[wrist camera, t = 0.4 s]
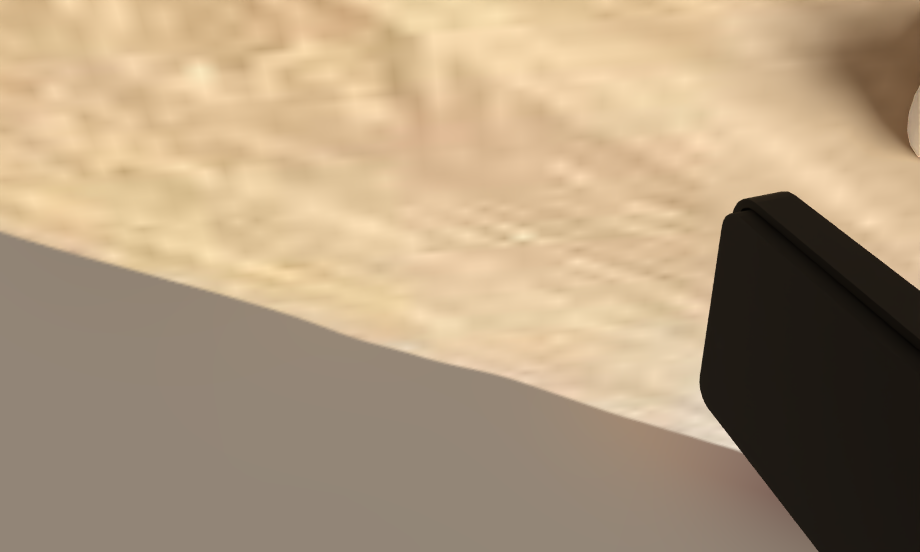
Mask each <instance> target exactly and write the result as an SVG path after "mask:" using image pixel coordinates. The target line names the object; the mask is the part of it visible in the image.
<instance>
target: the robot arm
mask: <svg viewBox="0 0 920 552" xmlns="http://www.w3.org/2000/svg"><path fill="white" fill-rule="evenodd" d="M700 390H701V394H702V397H703V400H704V402H705V404H706V406H707V407H708V409H709V410H710V411H711V413H712V414H713V415H714V417H715V418H716V419H717V420H718V422H719V423H720V424H721V426H722V427H723V428H724V429H725V431H726V432H727V433H728V435H729V436H730V437H731V439H732V440H733V441H734V442H735V444H736V445H737V446H738V448H739V449H740V450H741V452H742V453H743V454H744V455H745V457H746V458H747V459H748V461H749V462H750V463H751V464H752V466H753V467H754V468H755V470H756V471H757V472H758V474H759V475H760V476H761V477H762V479H763V480H764V481H765V482H766V484H767V485H768V486H769V488H770V489H771V490H772V492H773V493H774V494H775V496H776V497H777V498H778V499H779V501H780V502H781V503H782V504H783V506H784V507H785V509H786V510H787V511H788V512H789V514H790V515H791V516H792V518H793V519H794V520H795V521H796V523H797V524H798V525H799V527H800V528H801V529H802V530H803V532H804V533H805V534H806V536H807V537H808V538H809V540H810V541H811V542H812V544H813V545H814V546H815V547H816V549H817V550H818V551H819V552H920V290H918V289H917V288H916V287H914V286H913V285H912V284H910V283H909V282H908V281H906V280H905V279H904V278H903V277H901V276H900V275H899V274H897V273H896V272H895V271H893V270H892V269H891V268H889V267H888V266H887V265H886V264H884V263H883V262H882V261H880V260H879V259H878V258H876V257H875V256H874V255H872V254H871V253H870V252H869V251H867V250H866V249H865V248H863V247H862V246H861V245H859V244H858V243H857V242H855V241H854V240H853V239H852V238H850V237H849V236H848V235H846V234H845V233H844V232H842V231H841V230H840V229H838V228H837V227H836V226H835V225H833V224H832V223H831V222H829V221H828V220H827V219H825V218H824V217H823V216H822V215H820V214H819V213H818V212H816V211H815V210H814V209H812V208H811V207H810V206H808V205H807V204H806V203H805V202H803V201H802V200H801V199H799V198H798V197H797V196H795V195H794V194H792V193H790V192H777V193H772V194H767V195H762V196H757V197H752V198H747V199H743V200H741V201H739V202H738V203H737V205H736V206H735V208H734V210H733V213H731V214H729V215H727V216H726V217H725V219H724V221H723V224H722V229H721V236H720V243H719V250H718V256H717V263H716V270H715V277H714V284H713V291H712V297H711V304H710V311H709V318H708V325H707V331H706V338H705V345H704V352H703V359H702V366H701V372H700Z"/></svg>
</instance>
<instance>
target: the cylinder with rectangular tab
mask: <svg viewBox="0 0 920 552" xmlns="http://www.w3.org/2000/svg"><path fill="white" fill-rule="evenodd" d="M907 133H908V138H909V142H910V146H911V147H912V149H913V151H914V152H915V154H916V155H917V156H918V157H919V158H920V86H919V88H918V90H917V92H916V93H915V95H914V99H913V102H912V105H911V108H910V111H909V115H908V126H907Z"/></svg>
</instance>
